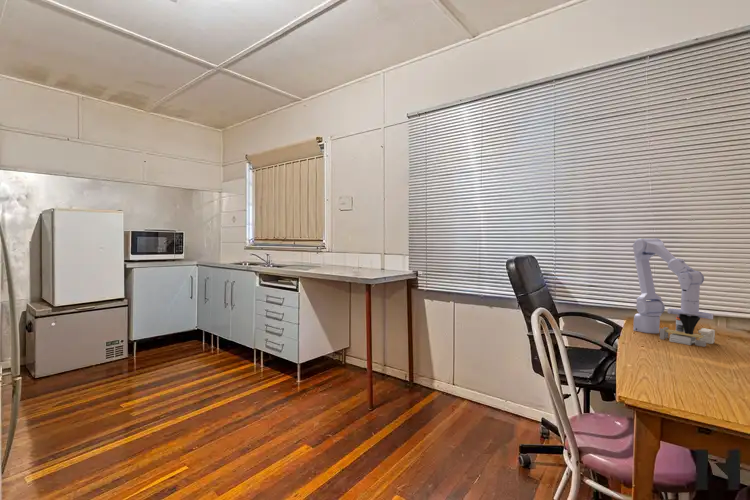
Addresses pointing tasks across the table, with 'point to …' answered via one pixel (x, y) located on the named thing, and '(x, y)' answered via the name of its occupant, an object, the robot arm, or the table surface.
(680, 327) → the supplement bottle
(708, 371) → the table surface
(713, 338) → the white l-shaped block
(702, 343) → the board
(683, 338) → the heatsink
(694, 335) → the strap
